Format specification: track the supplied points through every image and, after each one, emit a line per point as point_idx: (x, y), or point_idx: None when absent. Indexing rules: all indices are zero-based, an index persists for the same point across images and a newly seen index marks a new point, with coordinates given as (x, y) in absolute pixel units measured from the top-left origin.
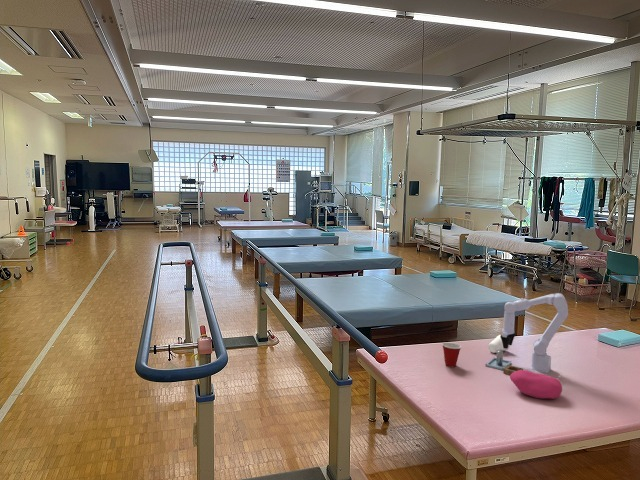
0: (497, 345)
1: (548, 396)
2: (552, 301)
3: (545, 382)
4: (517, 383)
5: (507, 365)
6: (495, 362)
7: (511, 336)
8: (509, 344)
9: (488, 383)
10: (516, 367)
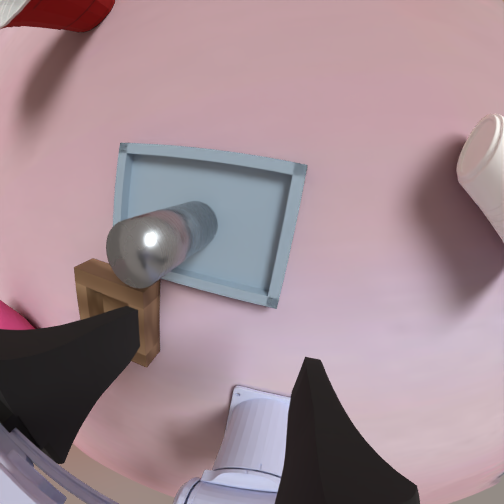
0: (496, 193)
1: None
2: None
3: None
4: None
5: (130, 289)
6: (228, 190)
7: (282, 497)
8: (298, 380)
9: (12, 214)
10: None
